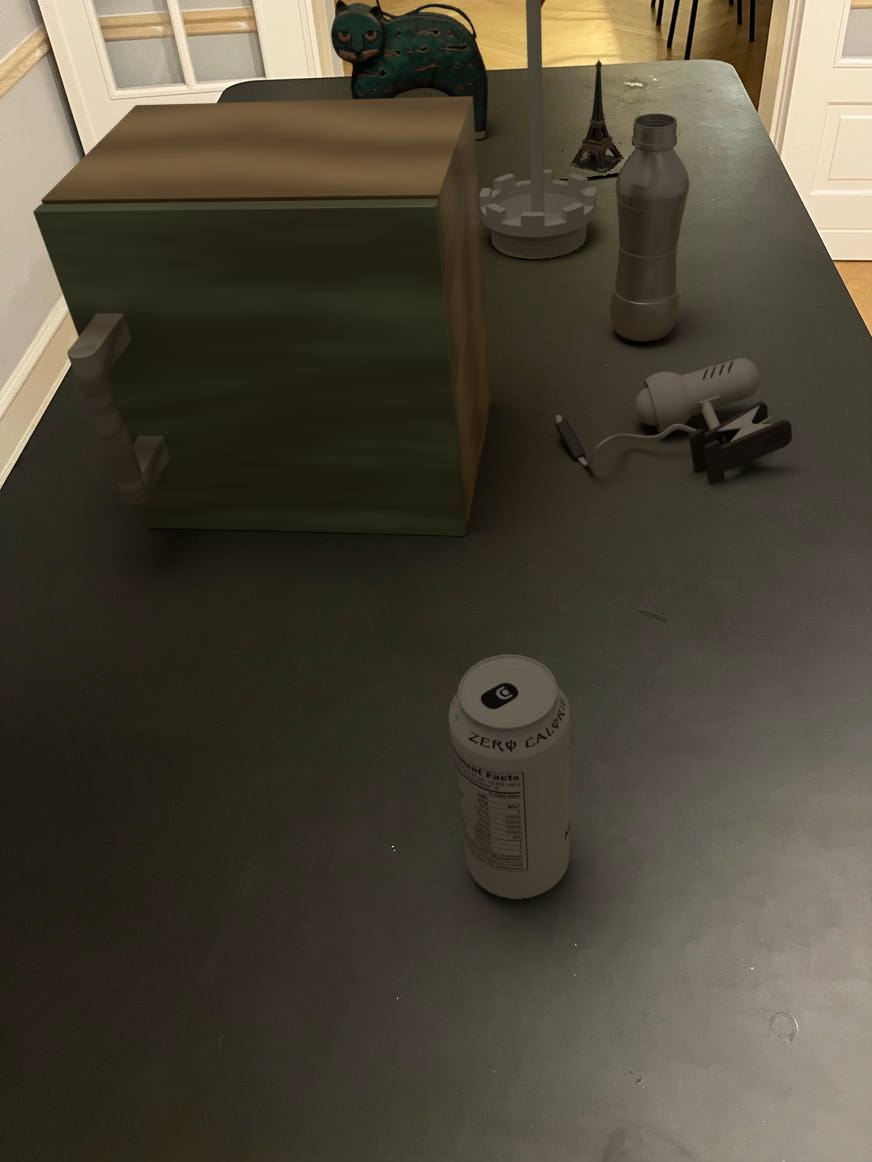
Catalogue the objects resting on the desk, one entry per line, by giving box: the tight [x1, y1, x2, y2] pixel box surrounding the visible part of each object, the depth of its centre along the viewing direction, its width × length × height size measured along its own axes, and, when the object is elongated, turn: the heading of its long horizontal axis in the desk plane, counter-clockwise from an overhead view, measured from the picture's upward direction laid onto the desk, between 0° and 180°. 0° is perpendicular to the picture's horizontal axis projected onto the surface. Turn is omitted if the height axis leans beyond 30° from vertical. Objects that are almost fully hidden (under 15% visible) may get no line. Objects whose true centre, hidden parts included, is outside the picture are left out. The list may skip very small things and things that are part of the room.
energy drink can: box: [448, 654, 571, 900], centre depth 56 cm, size 6×6×15 cm
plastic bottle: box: [609, 113, 690, 342], centre depth 96 cm, size 6×7×20 cm
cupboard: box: [40, 96, 492, 526], centre depth 82 cm, size 18×26×26 cm
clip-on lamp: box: [555, 357, 793, 485], centre depth 87 cm, size 12×6×18 cm
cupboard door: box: [32, 199, 468, 537], centre depth 73 cm, size 7×26×26 cm, turn 84°
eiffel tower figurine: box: [569, 59, 632, 174], centre depth 130 cm, size 15×10×13 cm
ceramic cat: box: [330, 0, 489, 132], centre depth 138 cm, size 20×6×20 cm, turn 90°
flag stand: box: [479, 0, 597, 257], centre depth 110 cm, size 13×13×30 cm
